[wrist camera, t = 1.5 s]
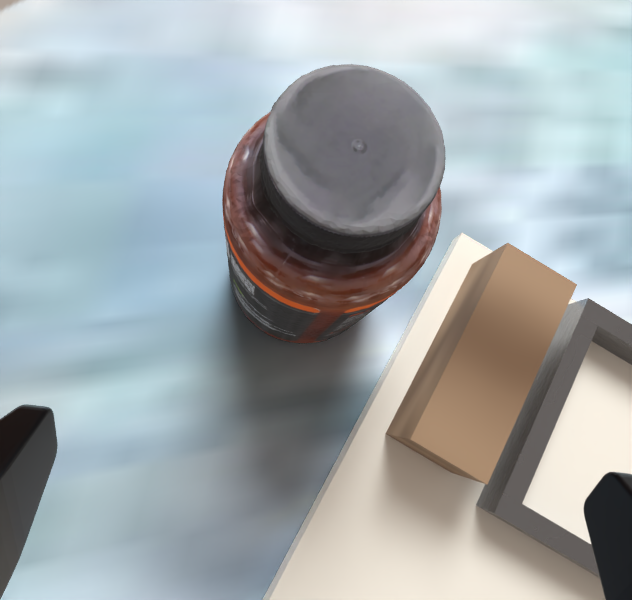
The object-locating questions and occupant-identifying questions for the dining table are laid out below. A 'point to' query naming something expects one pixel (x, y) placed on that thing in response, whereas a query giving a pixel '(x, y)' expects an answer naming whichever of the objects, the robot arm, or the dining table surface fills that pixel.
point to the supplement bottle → (332, 201)
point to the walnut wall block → (482, 363)
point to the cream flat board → (454, 490)
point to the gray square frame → (551, 426)
